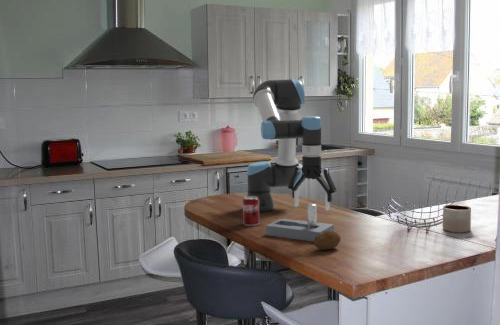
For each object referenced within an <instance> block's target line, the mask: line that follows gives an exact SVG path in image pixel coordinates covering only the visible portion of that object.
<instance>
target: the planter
mask: <svg viewBox="0 0 500 325" xmlns="http://www.w3.org/2000/svg"><path fill="white" fill-rule="evenodd" d="M471 220H472V207H471V206H467V205H462V204H446V205H443V208H442V229H443V230H444V231H446V232H448V233H452V234H453V233H454V234H456V233H457V234H464V233H469V232H471V229H472V228H471V227H472V226H471V225H472V221H471Z"/></svg>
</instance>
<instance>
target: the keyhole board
mask: <svg viewBox="0 0 500 325" xmlns="http://www.w3.org/2000/svg"><path fill="white" fill-rule="evenodd" d="M325 231H334V232H335V224H334V223H333V224H332V223H323V222H317V228H308V220H299V219H292V218H291V219H290V218H280V219H277V220H275V221H274V222H271V223H268V224H266V225H265V236H268V237H269V236H270V237H278V238H284V237H285V238H286V239H292V240H301V241H305V240H306V242H313V243H314V239H315V237H317V236H318V235H320V234H322V233H323V232H325ZM285 238H284V239H285Z"/></svg>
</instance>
